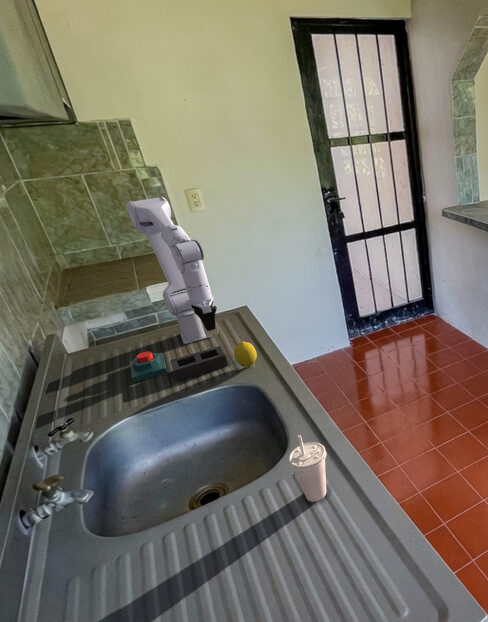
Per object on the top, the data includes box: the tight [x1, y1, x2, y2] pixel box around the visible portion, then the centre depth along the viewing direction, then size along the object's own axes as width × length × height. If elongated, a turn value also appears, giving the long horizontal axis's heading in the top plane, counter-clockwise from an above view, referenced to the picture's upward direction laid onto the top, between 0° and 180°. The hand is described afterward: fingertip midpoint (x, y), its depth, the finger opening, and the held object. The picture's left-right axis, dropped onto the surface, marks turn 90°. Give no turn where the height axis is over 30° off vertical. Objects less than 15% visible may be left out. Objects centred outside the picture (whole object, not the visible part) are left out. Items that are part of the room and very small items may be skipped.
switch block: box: [129, 352, 168, 384], centre depth 128 cm, size 11×8×4 cm
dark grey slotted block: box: [170, 345, 229, 382], centre depth 128 cm, size 7×13×4 cm, turn 126°
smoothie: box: [288, 434, 327, 503], centre depth 82 cm, size 6×6×14 cm
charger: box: [200, 319, 220, 337], centre depth 132 cm, size 3×3×7 cm
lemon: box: [233, 341, 258, 368], centre depth 126 cm, size 6×6×8 cm
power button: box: [135, 351, 153, 363], centre depth 127 cm, size 4×4×2 cm
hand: (210, 327), depth 132 cm, fingers closed on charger, 3 cm apart
